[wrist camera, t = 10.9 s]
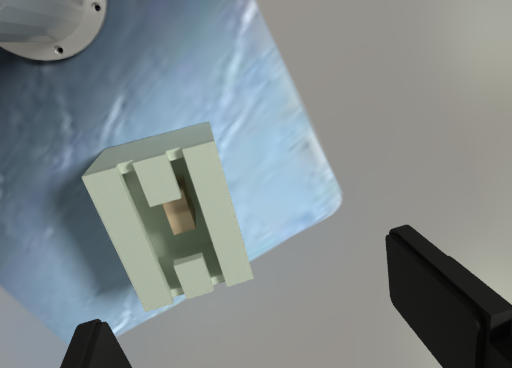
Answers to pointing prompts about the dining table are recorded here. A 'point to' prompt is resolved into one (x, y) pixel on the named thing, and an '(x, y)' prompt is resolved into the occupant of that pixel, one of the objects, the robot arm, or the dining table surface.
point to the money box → (155, 219)
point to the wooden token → (181, 210)
